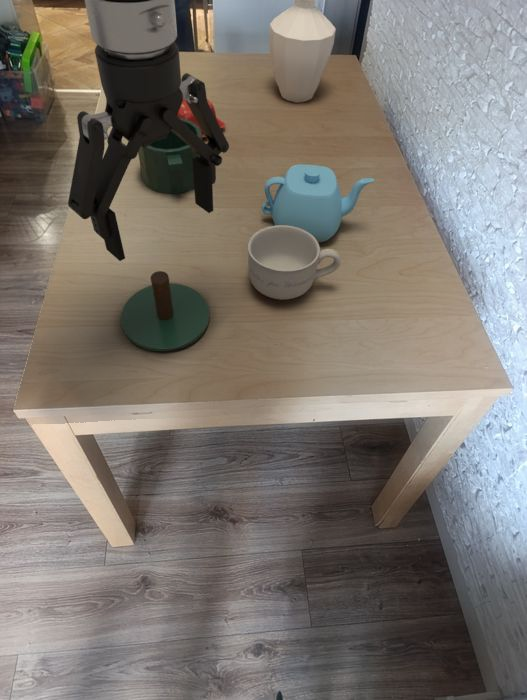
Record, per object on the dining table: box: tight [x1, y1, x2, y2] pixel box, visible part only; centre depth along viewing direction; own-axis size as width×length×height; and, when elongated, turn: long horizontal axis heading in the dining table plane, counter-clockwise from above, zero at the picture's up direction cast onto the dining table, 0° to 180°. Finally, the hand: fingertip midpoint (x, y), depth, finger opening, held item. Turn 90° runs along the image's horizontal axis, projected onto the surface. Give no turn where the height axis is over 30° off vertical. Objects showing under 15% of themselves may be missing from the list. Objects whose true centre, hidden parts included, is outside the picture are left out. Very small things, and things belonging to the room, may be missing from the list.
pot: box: [137, 118, 203, 195], centre depth 93 cm, size 12×17×8 cm
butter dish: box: [177, 98, 226, 139], centre depth 103 cm, size 12×12×8 cm
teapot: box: [261, 164, 375, 243], centre depth 85 cm, size 13×11×18 cm
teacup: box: [247, 225, 342, 300], centre depth 77 cm, size 14×11×8 cm
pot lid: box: [120, 270, 210, 352], centre depth 71 cm, size 13×13×9 cm
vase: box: [268, 0, 337, 104], centre depth 109 cm, size 14×14×25 cm
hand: (162, 229), depth 62 cm, fingers open, 13 cm apart
